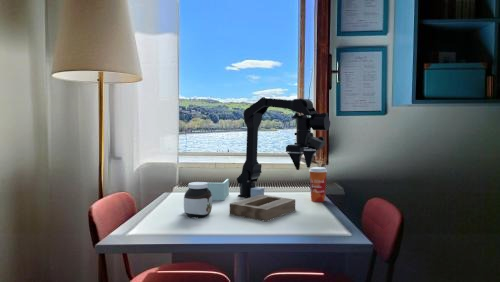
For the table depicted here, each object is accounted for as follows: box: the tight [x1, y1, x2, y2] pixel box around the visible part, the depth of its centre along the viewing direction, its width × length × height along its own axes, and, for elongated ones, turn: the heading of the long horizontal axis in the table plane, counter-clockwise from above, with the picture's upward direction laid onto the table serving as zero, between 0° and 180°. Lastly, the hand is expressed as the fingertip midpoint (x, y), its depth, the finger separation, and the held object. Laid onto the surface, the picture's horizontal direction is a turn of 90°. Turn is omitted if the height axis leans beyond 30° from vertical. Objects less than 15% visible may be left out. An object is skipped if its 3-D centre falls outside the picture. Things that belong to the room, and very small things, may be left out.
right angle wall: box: [207, 178, 230, 201], centre depth 161 cm, size 12×12×8 cm
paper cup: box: [308, 166, 328, 203], centre depth 154 cm, size 8×8×14 cm
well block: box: [229, 194, 296, 222], centre depth 135 cm, size 16×20×4 cm
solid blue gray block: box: [251, 186, 265, 197], centre depth 151 cm, size 4×4×6 cm
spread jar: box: [183, 181, 213, 219], centre depth 131 cm, size 12×11×12 cm
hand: (303, 168), depth 146 cm, fingers open, 9 cm apart
